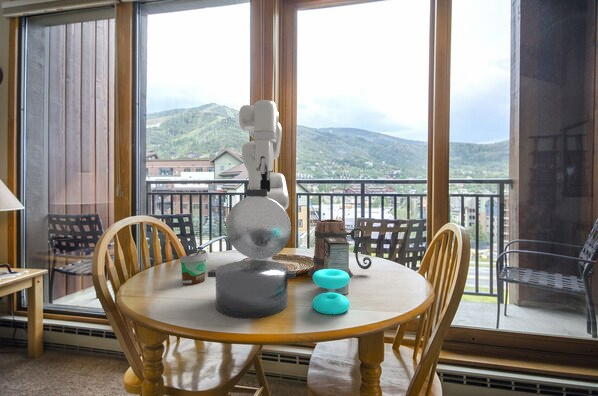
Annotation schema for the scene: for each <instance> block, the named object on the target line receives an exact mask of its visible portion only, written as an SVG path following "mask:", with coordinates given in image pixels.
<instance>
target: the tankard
mask: <svg viewBox="0 0 598 396" xmlns="http://www.w3.org/2000/svg"><path fill="white" fill-rule="evenodd" d="M356 231H360V237H359V239H358V240H357V242H356V244H355V248H354V250H355V251H354V255H355V260H356V262H357V266H358V267H359V268H361V270H367V269H369V268H370V267H371V266H372V264H373V263H372V259H371V258H370V257H369V256H365V257H363V259H362V262H363V263H362V264H361V262H360V261H359V257H358V256H359V253H358V251H359V246H361V245H360V244H361V243H362V242H363V239H364V235H365V233H364V230H363V229H362V228H361V227H359V226H356V227H353V228H352V229H351V231H350V232H348V231H347V229H346V224H345V221H344V220H338V219H323V220H317V221H316V226H315V230H314V250H313V252H314V253H313V254H314V255H313V256H312V261H313V266H312V267H311V268H310V270H309V271H308V272H307V276H309V277H310V278H312V279H313V274H314V273H315V272H316V271H318V270H322V269H324V238H343V239H345V240H346V241H347V236H350V237H351V239H352V240H353V241H356V237H355V236H356ZM366 261H368V262H366ZM363 264H364V265H363ZM353 276H354V274H353V272H352V271H351V269H350V268H349V277H350V279H351V278H353Z"/></svg>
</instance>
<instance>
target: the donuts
mask: <svg viewBox="0 0 598 396" xmlns="http://www.w3.org/2000/svg"><path fill="white" fill-rule="evenodd" d="M350 279H351V278H350V277H349V275H348V274H347V273H346V272H344V271H342V270H337V269H322V270H318V271H316V272H315V273H314V274H313V278H312V282H313V283H314V284H315V285H316V286H317V287H319V288H322V289H326V290H327V289H338V288H342V287H344V286H346V285H347V284H348V285H349V283H350ZM312 306H313V309H314V310H315V311H316V312H318V313H321V314H324V315H332V314H333V315H340V314H344V313H345V312H347V311H348V310H349V308H350V301H349V299H348V298H347V296H345V295H344V294H338V293H332V292H328V291H327V292H322V293H318V294H317V295H316V296H314V298H313V300H312Z"/></svg>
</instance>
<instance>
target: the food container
mask: <svg viewBox="0 0 598 396" xmlns="http://www.w3.org/2000/svg"><path fill="white" fill-rule="evenodd" d="M207 259H209V256H208V252H207V250H205V249H199V248H198V249H197V251H196V252H194V253H189V254H188V255H181V256H180V257H179V263H180V266H181V267H180V268H181V279H182V280H181V281H182V286H194V285H199V284H202V283H204V282H205V281H206V269H207Z"/></svg>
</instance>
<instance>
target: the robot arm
mask: <svg viewBox="0 0 598 396" xmlns="http://www.w3.org/2000/svg"><path fill="white" fill-rule="evenodd" d="M279 120H280V116H279V111H278V109H277V105H276V103H275V101H272V100H268V99H262V100H261V99H260V100H257V101H256V102H254V105H253V104H245V105H242V106H241V107H240V108H239V111H238V123H239V126H240V128H241V129H242V130H243V131H244V132H248V134H249V137H251V138H252V139H254V140H250V141H247V142H245V143H243V144H242V147H241V158H242V162H243V165H244V167H245V168H246V170H247V174H248V175H247V176H248V187H249V189H267V196H265V197H268V198H271V199H273V200H275V201H276V202H278V203H279V204H280V205H281V206H282V207H283V208H284V209H285V211H287V209H288V208H289V206H290V197H289V192H288V187H287V186H288V185H287V182H286V177H285V176H284V174H283V173H280V172H272V171H273V170H274V160H277V159H278V158H279V156H280V152H281V144H282V135H283V130H282V129H283V128H282V125H281V124H280V122H279ZM247 197H250V196H247V195H246V197H245V198H247ZM248 260H264V261H274V262H277V261H276V260H275V259H273V256H272V257H270V258H265V259H254V258H250V257H248Z"/></svg>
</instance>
